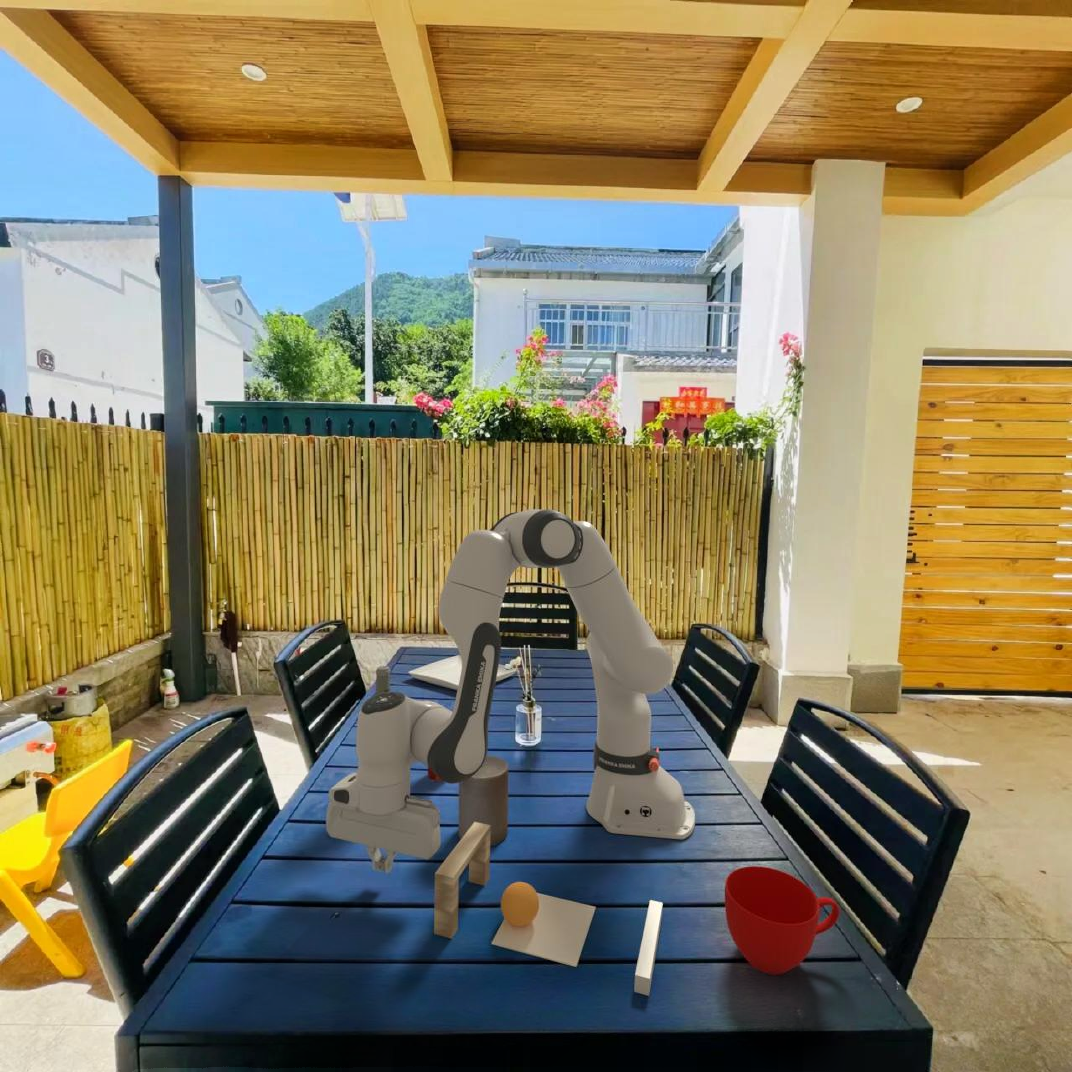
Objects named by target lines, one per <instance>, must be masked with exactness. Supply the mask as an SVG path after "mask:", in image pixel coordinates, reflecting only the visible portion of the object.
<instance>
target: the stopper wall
mask: <svg viewBox="0 0 1072 1072" xmlns="http://www.w3.org/2000/svg"><path fill="white" fill-rule="evenodd" d="M663 906H664V905H663V902H661V901H656V900H652V899H650V900H649V905H648V908H647V914H646V919H645V924H644V929H643V933H642V939H641V944H640V948H639V954H638V958H637V963H636V968H635V974H634V988H633V989H634V990H633V992H634V993H638V994H641V995H644V996H648V997H650V992H651V985H652V981H653V974H654V969H655V962H656V955H657V949H658V945H659V944H658V942H659V937H660V931H661V924H662V918H663V908H664V907H663Z"/></svg>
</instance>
